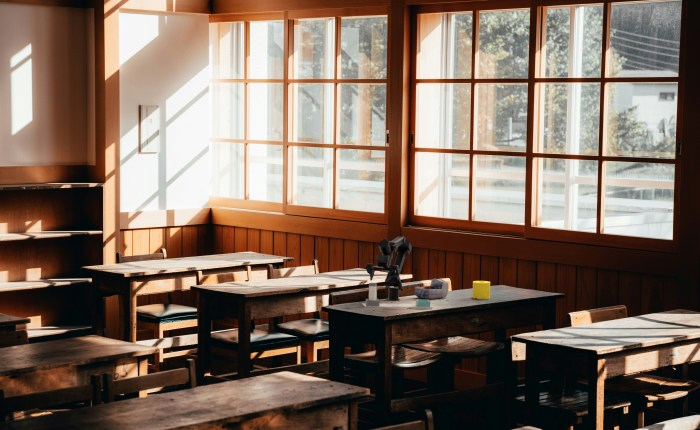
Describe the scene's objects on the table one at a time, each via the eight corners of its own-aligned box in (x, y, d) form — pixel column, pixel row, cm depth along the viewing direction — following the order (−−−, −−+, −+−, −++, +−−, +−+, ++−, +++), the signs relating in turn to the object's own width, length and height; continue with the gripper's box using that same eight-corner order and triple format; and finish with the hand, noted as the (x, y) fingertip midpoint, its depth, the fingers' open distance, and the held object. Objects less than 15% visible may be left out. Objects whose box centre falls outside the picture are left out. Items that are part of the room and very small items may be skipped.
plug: (370, 304, 576) (371, 282, 575) (376, 305, 575) (376, 283, 574) (368, 305, 573) (369, 283, 572) (374, 305, 572) (374, 283, 571)
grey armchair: (451, 279, 617) (427, 282, 604) (451, 297, 618) (427, 301, 605) (435, 277, 627) (411, 280, 613) (435, 295, 627) (411, 298, 614)
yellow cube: (491, 297, 623) (492, 281, 622) (486, 299, 614) (487, 283, 613) (475, 296, 627) (476, 280, 626) (470, 298, 618) (470, 282, 617)
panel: (362, 305, 581) (362, 297, 580) (429, 305, 584) (429, 298, 583) (364, 308, 569) (364, 300, 568) (432, 308, 572) (432, 301, 571)
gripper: (367, 249, 588) (359, 270, 578) (398, 250, 581) (391, 272, 571) (371, 262, 596) (363, 283, 586) (402, 264, 589) (395, 285, 579)
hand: (378, 280), depth 580 cm, fingers open, 9 cm apart
